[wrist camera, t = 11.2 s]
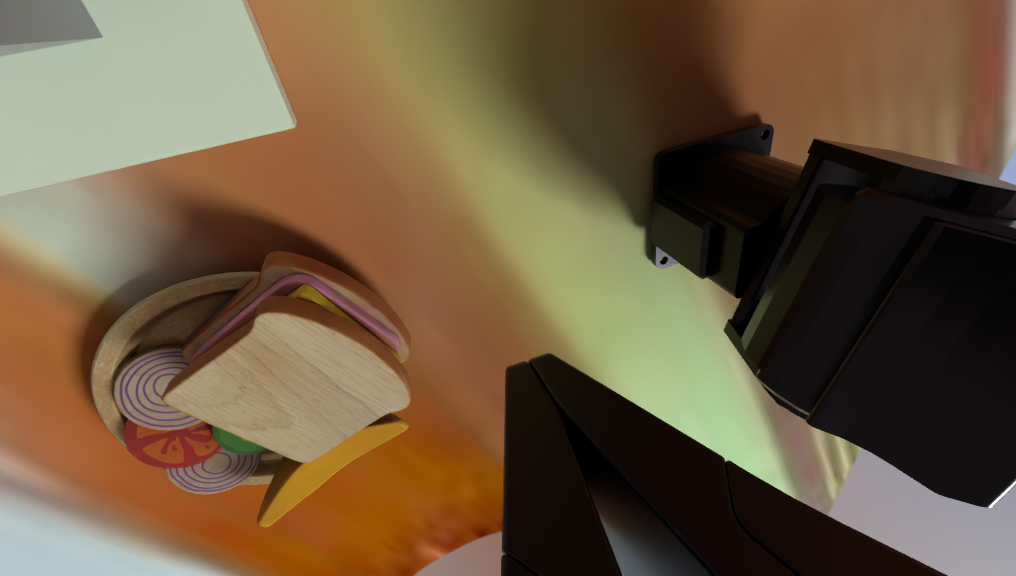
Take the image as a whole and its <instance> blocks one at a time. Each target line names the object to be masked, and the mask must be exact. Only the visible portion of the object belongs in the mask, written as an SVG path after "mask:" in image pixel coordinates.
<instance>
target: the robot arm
mask: <svg viewBox="0 0 1016 576" xmlns="http://www.w3.org/2000/svg"><path fill="white" fill-rule="evenodd" d="M762 132H763V135H762V136H761V134H762ZM773 133H774V129H773V127H772V126H771V125H769V124H765V123H759V124H756V125H752V126H749V127H745V128H741V129H738V130H734V131H731V132H727V133H723V134H720V135H716V136H712V137H709V138H705V139H702V140H698V141H694V142H691V143H687V144H684V145H680V146H676V147H673V148H669V149H666V150H663V151H661V152H659V153H658V154H657V155H656V157H655V160H654V180H653V198H652V204H651V243H652V263H653V264H654V265H655V266H656V267H658V268H660V269H662V268H666V267H669V266H672V265H675V264H678V263H680V264H681V265H683V266H684V267H685V268H687V269H688V270H690V271H691V272H692V273H694V274H695V275H696V276H698V277H699V278H701V279H704V278H707V277H708V278H709V279H710V280H712V281H713V282H715V283H716V284H717V285H719V286H720V287H722V288H723V289H724V290H726V291H727V292H729V293H730V294H731V295H733V296H734V297H736V298H741V299H740V302H739V304H738V306H737V308H736V310H735V312H734V314H733V316H732V318H731V319H729V320H728V322H727V324H726V326H725V328H724V332H725V333H726V335H727V336H728V338H729V339H730V341H731V342H732V343H733V345H734V346H735V348H736V349H737V351H738V352H739V353H740V355H741V356H742V358H743V359H744V361H745V362H746V363H747V365H748V366H749V368H750V369H751V371H752V372H753V373H754V375H755V376H756V378H757V379H758V381H759V382H760V383H761V385H762V386H763V388H764V389H765V390H766V391H767V392H768V394H769V395H770V396H771V397H772V398H773V399H774V400H775V402H776V403H777V404H779V405H780V406H782V407H784V408H786V409H788V410H789V411H790V412H792V413H794V414H796V415H797V416H799V417H801V418H803V419H805V420H806V422H807V423H808V424H809V425H810V426H812V427H814V428H817V429H819V430H822V431H825V432H827V433H830V434H833V435H835V436H838V437H841V438H843V439H845V440H847V441H849V442H851V443H853V444H855V445H857V446H859V447H861V448H863V449H865V450H867V451H869V452H871V453H873V454H874V455H876V456H878V457H879V458H881V459H883V460H884V461H886V462H888V463H889V464H891V465H893V466H894V467H896V468H897V469H899V470H900V471H902V472H903V473H905V474H907V475H908V476H910V477H911V478H913V479H914V480H916V481H918V482H919V483H921V484H922V485H924V486H925V487H927V488H928V489H930V490H931V491H933V492H935V493H937V494H939V495H942V496H945V497H948V498H952V499H956V500H959V501H962V502H966V503H969V504H973V505H976V506H981V507H993V506H994V505H995V504H996V503H997V502H998V501H999V500H1000V499H1002V497H1004V496H1005V495H1006V494H1007V493H1008V492H1009V491H1010V490H1011V489H1012V488H1013V487H1014V486H1015V485H1016V185H1014V184H1011V183H1008V182H1005V181H1002V180H999V179H996V178H993V177H990V176H987V175H984V174H981V173H978V172H976V171H973V170H970V169H967V168H964V167H961V166H957V165H953V164H949V163H944V162H940V161H935V160H931V159H926V158H922V157H918V156H913V155H909V154H904V153H900V152H895V151H890V150H884V149H877V148H871V147H865V146H858V145H852V144H846V143H839V142H833V141H827V140H821V139H814V140H813V142H812V144H811V146H810V148H809V151H808V153H809V154H810V155H809V157H808V159H807V161H806V163H805V165H804V167H802V166H799V165H795V164H792V163H789V162H786V161H783V160H780V159H777V158H774V157H771V156H770V151H771V145H772V139H773ZM666 158H668V160H667V162H666V164H665V165H663V162H664V160H665V159H666ZM662 257H663V259H662V260H661V258H662ZM660 260H661V261H660ZM502 553H503V556H502V558H501V576H623V575H624V576H947V575H945V574H943V573H941V572H939V571H937V570H935V569H933V568H931V567H929V566H927V565H925V564H923V563H921V562H919V561H917V560H915V559H913V558H911V557H909V556H907V555H905V554H903V553H901V552H899V551H897V550H895V549H893V548H891V547H889V546H887V545H885V544H883V543H881V542H879V541H877V540H875V539H872V538H870V537H869V536H867V535H865V534H863V533H861V532H859V531H857V530H854V529H852V528H851V527H849V526H846V525H844V524H842V523H841V522H839V521H836V520H835V519H833V518H831V517H829V516H827V515H825V514H823V513H821V512H819V511H817V510H816V509H814V508H812V507H810V506H808V505H806V504H804V503H802V502H800V501H798V500H796V499H794V498H793V497H791V496H789V495H787V494H786V493H784V492H782V491H780V490H779V489H777V488H775V487H773V486H772V485H770V484H768V483H766V482H765V481H763V480H761V479H759V478H758V477H756V476H754V475H752V474H751V473H749V472H747V471H746V470H744V469H743V468H741V467H739V466H738V465H736V464H734V463H733V462H731V461H726V462H725V459H724V458H723V457H722V456H721V455H719V454H717V453H716V452H714V451H712V450H711V449H709V448H707V447H706V446H704V445H702V444H701V443H699V442H697V441H696V440H694V439H692V438H691V437H689V436H687V435H686V434H684V433H682V432H681V431H679V430H677V429H676V428H674V427H672V426H671V425H669V424H668V423H666V422H664V421H663V420H661V419H659V418H658V417H656V416H654V415H653V414H651V413H649V412H648V411H646V410H644V409H643V408H641V407H639V406H638V405H636V404H634V403H633V402H631V401H629V400H628V399H626V398H624V397H623V396H621V395H619V394H618V393H616V392H614V391H613V390H611V389H609V388H608V387H606V386H604V385H603V384H601V383H599V382H598V381H596V380H595V379H593V378H591V377H590V376H588V375H586V374H585V373H583V372H581V371H580V370H578V369H576V368H575V367H573V366H571V365H570V364H568V363H566V362H565V361H563V360H561V359H560V358H558V357H556V356H555V355H553V354H551V353H546V354H543V355H540V356H537V357H534V358H532V359H530V360H529V363H528V362H527V361H523V362H520V363H517V364H514V365H511V366H509V367H507V368H506V377H505V425H504V472H503V519H502ZM621 572H622V573H621ZM622 574H623V575H622Z"/></svg>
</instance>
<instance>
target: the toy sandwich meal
mask: <svg viewBox="0 0 1016 576" xmlns="http://www.w3.org/2000/svg"><path fill="white" fill-rule="evenodd" d="M409 357H410V335H409V333H408V330H407V328H406V326H405V325H404V323H403V322H402V320H401V319H400V318H399V317H398V315H397V314H396V313H395V312H394V310H393V309H392V308H391V307H390V306H389V305H388V304H387V303H386V302H385V301H384V300H383V299H381V298H380V297H379V296H378V295H377V294H375V293H374V292H373V291H371V290H370V289H369V288H367V287H366V286H364V285H363V284H361V283H360V282H358V281H357V280H355V279H353V278H352V277H350V276H348V275H347V274H345V273H343V272H341V271H339V270H337V269H335V268H333V267H331V266H329V265H327V264H324V263H322V262H319V261H318V260H315V259H312V258H309V257H306V256H303V255H299V254H296V253H291V252H286V251H274V252H270V253H268V255H267V256H266V258H265V260H264V263H263V266H262V269H261V272H229V273H221V274H214V275H208V276H203V277H199V278H195V279H191V280H187V281H184V282H181V283H178V284H175V285H173V286H170V287H167V288H165V289H163V290H161V291H158V292H156V293H154V294H152V295H150V296H149V297H147V298H145V299H143V300H142V301H140V302H139V303H137V304H136V305H134V306H133V307H132V308H130V309H129V310H128V311H127V312H126V313H124V314H123V315H122V316H121V317H120V318H119V319H118V320H117V321H116V322H115V323H114V324H113V325H112V326H111V328H110V329H109V330H108V332H107V333H106V334H105V336H104V338H103V339H102V341H101V343H100V345H99V347H98V349H97V351H96V354H95V357H94V360H93V364H92V369H91V390H92V396H93V400H94V403H95V406H96V409H97V411H98V413H99V415H100V417H101V419H102V420H103V422H104V424H105V425H106V426H107V428H108V429H109V430H110V432H111V433H112V434H113V435H114V436H115V437H116V438H117V439H118V440H119V441H120V442H121V443H122V444H123V445H124V446H125V447H127V449H128V451H129V452H130V453H131V454H132V455H133V456H135V457H136V458H137V459H138V460H140V461H142V462H144V463H146V464H148V465H151V466H154V467H159V468H162V469H164V470H166V472H167V475H168V477H169V479H170V480H171V481H172V482H173V483H174V484H175V485H176V486H178V487H179V488H181V489H183V490H185V491H188V492H192V493H197V494H213V493H219V492H223V491H226V490H229V489H231V488H233V487H236V486H237V485H254V484H267V483H270V485H269V487H268V490H267V492H266V494H265V497H264V500H263V502H262V505H261V508H260V511H259V514H258V518H257V524H259V525H260V526H262V527H269V526H270V525H272V524H273V523H275V522H276V521H277V520H278V519H280V518H281V517H282V516H283V515H284V514H285V513H287V512H288V511H289V510H290V509H292V508H293V507H294V506H295V505H297V504H298V503H299V502H300V501H302V500H303V499H304V498H306V497H307V496H308V495H310V494H311V493H312V492H313V491H315V490H316V489H317V488H318V487H319V486H321V485H322V484H323V483H324V482H325V481H327V480H328V479H329V478H330V477H331V476H332V475H333V474H335V473H336V472H337V471H339V470H340V469H341V468H343V467H344V466H345V465H347V464H348V463H350V462H351V461H353V460H354V459H356V458H357V457H359V456H361V455H362V454H364V453H366V452H368V451H370V450H372V449H373V448H375V447H377V446H379V445H381V444H383V443H384V442H386V441H388V440H389V439H391V438H393V437H395V436H397V435H399V434H400V433H402V432H404V431H405V430H406V429H407V428H408V427H409V426H408V424H407V423H406V422H405V421H404V420H402V419H401V418H399V417H398V416H396V415H394V414H393V412H396V411H400V410H403V409H405V408H406V407H407V406H408V405H409V404H410V402H411V387H410V380H409V377H408V375H407V372H406V371H405V369H404V368H403V366H402V363H404V362H405V361H406V360H408V358H409Z"/></svg>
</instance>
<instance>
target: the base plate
mask: <svg viewBox="0 0 1016 576" xmlns="http://www.w3.org/2000/svg"><path fill="white" fill-rule="evenodd" d="M82 2H83V4H84V6H85V7H86V9H87V11H88V12H89V14H90V16H91V17H92V19H93V21H94V23H95V24H96V26H97V28H98V29H99V31H100V33H101V35H102V36H103V38H98V39H92V40H87V41H81V42H76V43H71V44H65V45H60V46H55V47H49V48H44V49H38V50H33V51H28V52H22V53H17V54H11V55H6V56H1V57H0V196H3V195H7V194H11V193H16V192H20V191H24V190H29V189H33V188H37V187H42V186H46V185H50V184H55V183H59V182H63V181H67V180H72V179H76V178H80V177H85V176H89V175H93V174H98V173H102V172H106V171H111V170H115V169H119V168H124V167H128V166H132V165H137V164H141V163H145V162H150V161H154V160H158V159H162V158H167V157H171V156H175V155H180V154H184V153H188V152H193V151H197V150H201V149H206V148H210V147H214V146H219V145H223V144H227V143H232V142H236V141H240V140H245V139H249V138H253V137H258V136H262V135H266V134H270V133H275V132H279V131H283V130H288V129H292V128H295V127H296V124H297V120H296V118H295V115H294V113H293V110H292V108H291V106H290V103H289V101H288V98H287V96H286V93H285V91H284V89H283V86H282V84H281V81H280V79H279V76H278V74H277V72H276V69H275V67H274V64H273V62H272V59H271V57H270V55H269V52H268V50H267V47H266V45H265V42H264V40H263V37H262V35H261V33H260V30H259V28H258V25H257V23H256V20H255V18H254V16H253V13H252V11H251V8H250V6H249V3H248V1H247V0H82Z"/></svg>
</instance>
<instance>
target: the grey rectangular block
mask: <svg viewBox="0 0 1016 576" xmlns="http://www.w3.org/2000/svg"><path fill="white" fill-rule="evenodd" d="M98 38H103V36H102V35H101V33H100V31H99V29H98V28H97V26H96V24H95V23H94V21H93V19H92V17H91V16H90V14H89V12H88V11H87V9H86V7H85V6H84V4H83V2H82V0H0V57H1V56H6V55H11V54H17V53H22V52H28V51H33V50H38V49H44V48H49V47H55V46H60V45H65V44H71V43H76V42H81V41H87V40H92V39H98Z"/></svg>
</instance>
